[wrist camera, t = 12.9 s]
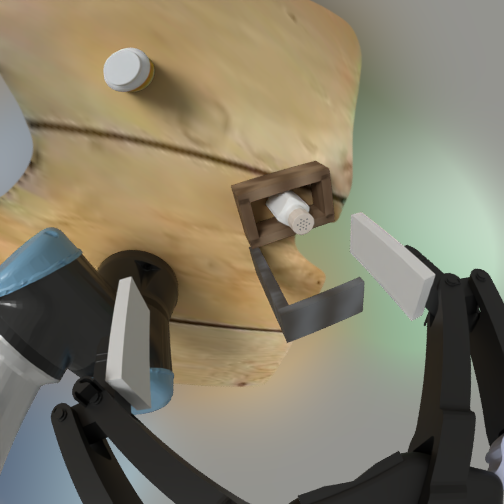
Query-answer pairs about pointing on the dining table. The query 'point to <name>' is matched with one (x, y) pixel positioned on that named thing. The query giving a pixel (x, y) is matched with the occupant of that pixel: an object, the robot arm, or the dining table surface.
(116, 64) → the supplement bottle
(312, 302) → the brown and grey frame
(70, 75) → the dining table surface
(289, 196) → the pepper shaker
